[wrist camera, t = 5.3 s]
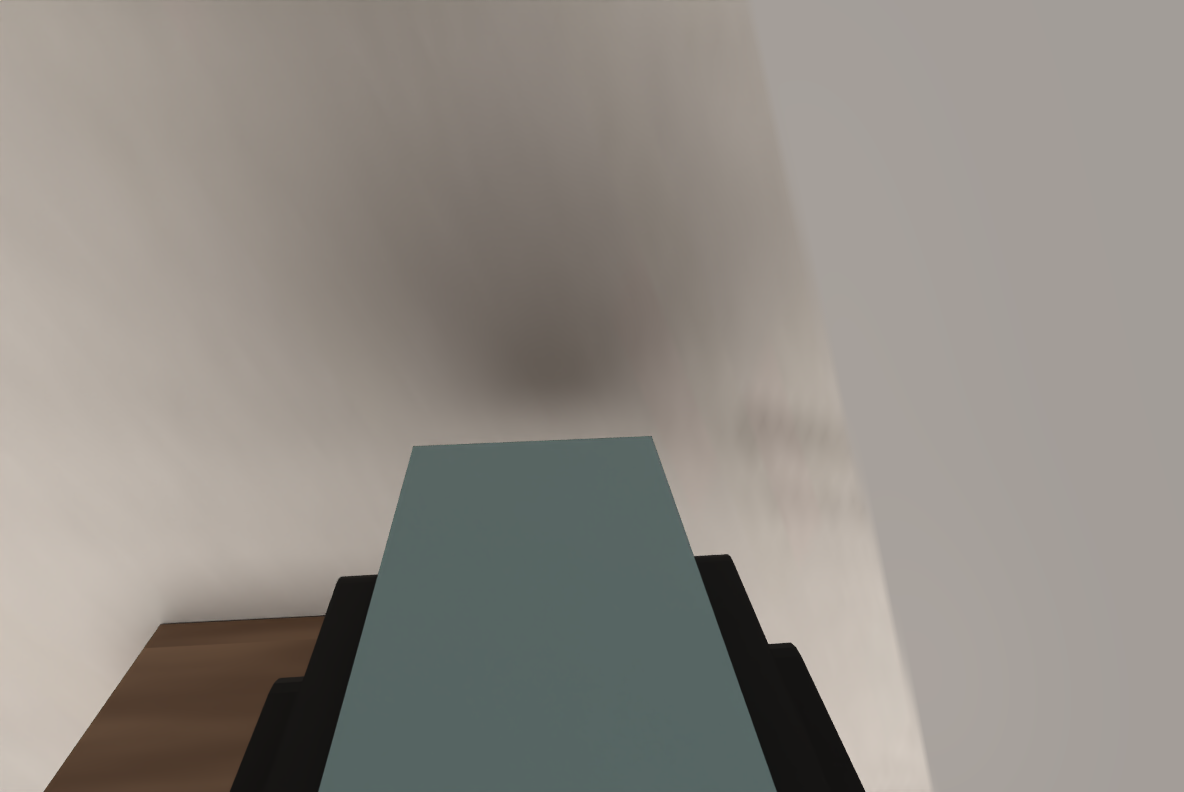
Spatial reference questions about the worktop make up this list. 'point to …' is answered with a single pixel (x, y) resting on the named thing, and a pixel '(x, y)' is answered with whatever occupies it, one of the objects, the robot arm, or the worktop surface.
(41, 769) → the worktop surface
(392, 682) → the teal rectangular block
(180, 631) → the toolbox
